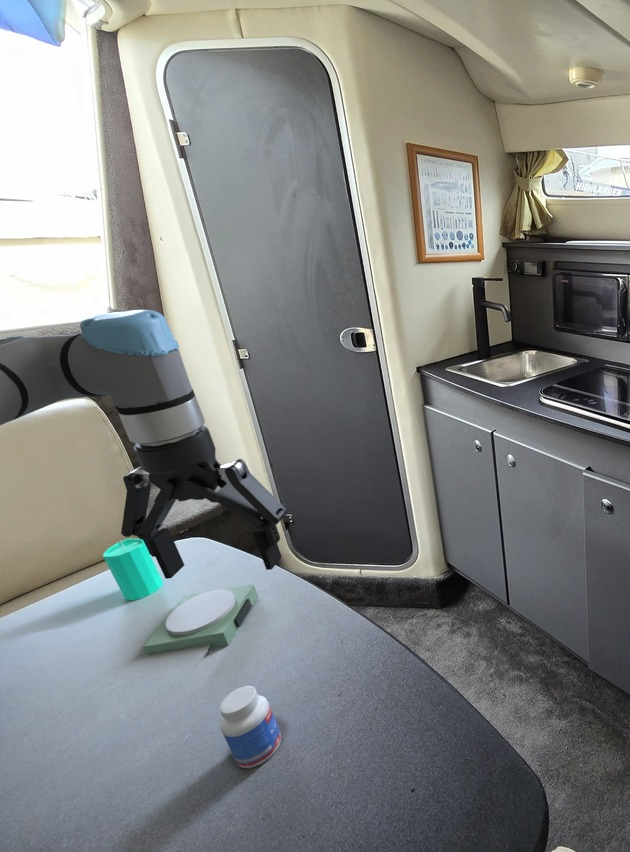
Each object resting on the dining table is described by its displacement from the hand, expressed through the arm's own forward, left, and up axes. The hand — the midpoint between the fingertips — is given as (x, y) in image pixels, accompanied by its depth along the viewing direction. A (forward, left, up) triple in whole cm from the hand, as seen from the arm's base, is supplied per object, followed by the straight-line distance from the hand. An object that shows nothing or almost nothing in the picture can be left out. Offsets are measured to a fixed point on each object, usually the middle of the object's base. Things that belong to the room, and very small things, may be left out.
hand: (225, 567), depth 71 cm
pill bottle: (+3, -12, -22) cm, 26 cm away
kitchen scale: (-16, +15, -22) cm, 31 cm away
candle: (-34, +29, -22) cm, 50 cm away
